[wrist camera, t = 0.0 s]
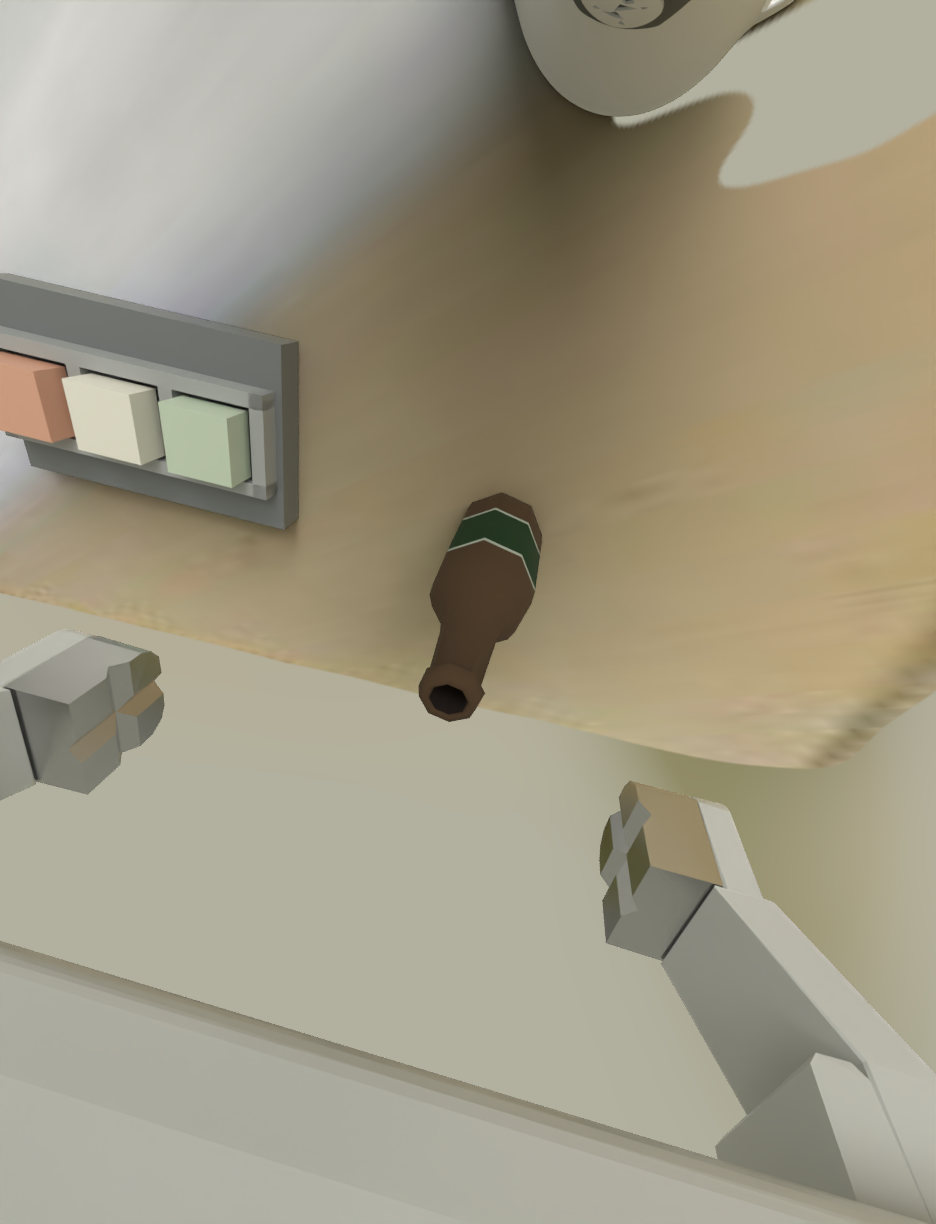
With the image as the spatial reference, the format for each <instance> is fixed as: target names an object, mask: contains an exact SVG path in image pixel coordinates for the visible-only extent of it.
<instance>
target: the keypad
mask: <svg viewBox="0 0 936 1224" xmlns="http://www.w3.org/2000/svg"><path fill="white" fill-rule="evenodd" d="M2 351H3V352H7V353H11V354H15V355H19V356H23V357H27V358H32V359H36V360H40V361H44V362H48V363H52V364H56V365H60V366H65V370H66V374H67V377H72V376H78V375H84V374H90V373H93V374H98V375H102V376H106V377H110V378H114V379H118V380H122V381H126V382H131V383H135V384H139V385H143V386H147V387H151V388H155V390H156V397H157V403H158V402H159V401H163V400H167V399H171V398H174V397H178V396H182V395H184V396H188V397H192V398H196V399H201V400H205V401H209V402H213V403H217V404H221V405H225V406H229V407H234V408H238V409H242V410H246V411H248V429H249V447H250V466H251V477H250V478H248V479H247V480H245V481H243V482H242V483H240V484H238V485H236V486H235V487H233V488H230V487H226V486H222V485H218V484H214V483H210V482H206V481H202V480H198V479H194V478H190V477H186V476H182V475H178V474H174V473H170V472H168V468H167V461H166V454H165V456H163V457H160V458H158V459H155V460H153V461H150V462H148V463H145V464H143V465H138V464H134V463H130V462H126V461H122V460H118V459H114V458H110V457H106V456H102V455H98V454H94V453H90V452H86V451H82V450H78V445H77V441H76V437H75V436H74V437H70V438H67V439H64V440H60V441H57V442H53V443H50V442H46V441H42V440H38V439H34V438H30V437H26V436H22V435H18V434H14V433H10V432H6V431H5V432H6V435H8V436H12V437H16V438H20V439H23V440H24V443H25V447H26V450H27V453H28V457H29V460H30V463H31V466H34V467H38V468H42V469H46V470H50V471H54V472H57V473H61V474H65V475H69V476H73V477H77V478H81V479H85V480H89V481H93V482H97V483H101V484H105V485H109V486H113V487H117V488H121V489H124V490H128V491H132V492H136V493H140V494H144V495H148V496H152V497H156V498H160V499H164V500H168V501H172V502H176V503H180V504H184V505H188V506H192V507H195V508H199V509H203V510H207V511H211V512H215V513H219V514H223V515H227V516H231V517H235V518H239V519H243V520H247V521H251V522H255V523H259V524H262V525H266V526H270V527H274V528H278V529H282V530H285V529H286V528H287V527H288V526H290V525H291V524H292V523H293V522H294V521H296V520H297V519H298V341H294V340H290V339H285V338H281V337H277V336H273V335H268V334H264V333H260V332H256V331H251V330H247V329H243V328H238V327H234V326H230V325H226V324H221V323H217V322H213V321H209V320H204V319H200V318H196V317H192V316H187V315H183V314H179V313H174V312H170V311H166V310H162V309H157V308H153V307H149V306H145V305H140V304H136V303H132V302H128V301H123V300H119V299H115V298H110V297H106V296H102V295H98V294H93V293H89V292H85V291H81V290H76V289H72V288H68V287H64V286H59V285H55V284H51V283H46V282H42V281H38V280H34V279H29V278H25V277H21V276H17V275H12V274H6V273H0V352H2ZM158 410H159V406H158ZM159 417H160V413H159ZM160 424H161V420H160ZM161 431H162V427H161ZM162 437H163V434H162ZM163 444H164V440H163ZM164 451H165V447H164Z"/></svg>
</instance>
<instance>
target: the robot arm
mask: <svg viewBox="0 0 936 1224" xmlns="http://www.w3.org/2000/svg"><path fill="white" fill-rule="evenodd" d="M793 1H794V0H514V2H515V6H516V10H517V14H518V17H519V21H520V25H521V28H522V32H523V35H524V38H525V40H526V43H527V45H528V48H529V50H530V52H531V54H532V57H533V58H534V60H535V62H536V64H537V66H538V67H539V69H540V70H541V72H542V73H543V75H544V76H545V78H546V79H547V80H548V81H549V83H550V84H551V85H552V86H553V87H554V88H555V89H556V90H557V91H558V92H559V93H560V94H561V95H562V96H563V97H565V98H566V99H567V100H569V101H570V102H572V103H573V104H575V105H577V106H578V107H580V108H582V109H585V110H587V111H590V112H592V113H596V114H600V115H606V116H631V115H637V114H642V113H645V112H649V111H651V110H654V109H657V108H659V107H662V106H664V105H666V104H668V103H669V102H671V101H673V100H675V99H677V98H678V97H680V96H681V95H683V94H684V93H686V92H687V91H688V90H690V89H691V88H692V87H694V86H695V85H696V84H697V83H698V82H699V81H701V80H702V79H703V78H704V77H705V76H706V75H707V74H708V73H709V72H710V71H711V70H712V69H713V68H714V67H715V66H716V65H717V64H718V63H719V61H721V59H722V58H723V57H724V56H725V55H726V54H727V52H728V51H729V50H730V49H731V48H732V47H733V45H734V44H735V43H736V42H737V41H738V40H739V39H740V38H741V37H742V36H743V35H744V34H745V33H746V32H747V31H748V30H749V29H750V28H751V27H752V26H753V25H755V24H757V23H759V22H761V21H762V20H764V19H766V18H768V17H769V16H771V15H773V14H775V13H776V12H778V11H780V10H781V9H783V8H784V7H786V6H787V5H789V4H790V3H792V2H793ZM160 674H161V667H160V661H159V656H157V655H155V654H154V653H152V652H151V651H147V650H144V649H141V648H138V647H134V646H131V645H127V644H124V643H121V642H117V641H114V640H110V639H107V638H104V637H100V636H94V635H91V634H88V633H85V632H81V631H78V630H75V629H60V630H57V631H55V632H54V633H52V634H50V635H48V636H46V637H44V638H43V639H41V640H39V641H37V642H35V643H34V644H31V645H30V646H28V647H26V648H24V649H22V650H20V651H18V652H17V653H15V654H13V655H11V656H9V657H7V658H5V659H4V660H2V661H0V800H2V799H4V798H7V797H9V796H11V795H13V794H15V793H18V792H20V791H22V790H24V789H26V788H29V787H31V786H33V785H35V784H36V782H40V783H44V784H48V785H52V786H56V787H60V788H64V789H68V790H72V791H76V792H80V793H84V794H89V793H90V792H91V791H92V790H93V789H94V788H95V787H96V786H98V785H99V784H100V783H101V782H102V781H103V780H104V779H105V778H106V777H107V776H108V775H109V774H111V773H112V772H113V771H114V770H115V769H116V768H117V767H118V766H119V765H120V762H121V754H122V752H125V751H127V750H130V749H133V748H136V747H138V746H141V745H142V744H143V743H144V742H145V741H146V740H147V739H148V738H149V737H150V736H151V735H152V734H153V732H154V731H155V729H156V727H157V726H158V724H159V722H160V720H161V718H162V713H163V709H164V694H163V692H162V691H161V690H160V688H159V687H158V686H157V684H156V683H155V681H154V680H155V679H156V678H157V677H158V676H159V675H160ZM35 781H36V782H35ZM619 801H620V809H621V811H619V812H617V813H615V814H613V815H611V816H610V817H609V819H608V822H607V824H606V826H605V829H604V832H603V836H602V841H601V845H600V875H601V876H602V878H603V879H604V880H605V882H606V883H607V885H608V886H609V889H608V891H607V893H606V895H605V897H604V899H603V901H602V902H603V913H604V925H605V936H606V943H608V944H611V945H614V946H617V947H620V948H624V949H627V950H630V951H633V952H636V953H639V954H642V955H645V956H649V957H652V958H655V959H658V960H661V961H662V963H661V964H662V966H663V968H664V970H665V971H666V973H667V975H668V977H669V978H670V980H671V982H672V984H673V985H674V987H675V989H676V991H677V993H678V994H679V996H680V998H681V1000H682V1001H683V1003H684V1005H685V1007H686V1008H687V1010H688V1012H689V1014H690V1015H691V1017H692V1019H693V1021H694V1022H695V1024H696V1026H697V1028H698V1030H699V1031H700V1033H701V1035H702V1036H703V1038H704V1040H705V1042H706V1043H707V1045H708V1047H709V1049H710V1050H711V1052H712V1054H713V1056H714V1058H715V1059H716V1061H717V1063H718V1065H719V1067H720V1068H721V1070H722V1072H723V1074H724V1075H725V1077H726V1079H727V1081H728V1082H729V1084H730V1086H731V1088H732V1089H733V1091H734V1093H735V1095H736V1097H737V1098H738V1100H739V1102H740V1104H741V1105H742V1107H743V1109H744V1110H745V1112H746V1114H747V1116H745V1118H743V1119H742V1120H741V1121H740V1122H739V1123H738V1124H737V1125H736V1126H735V1127H734V1128H732V1129H731V1130H730V1131H729V1132H728V1133H727V1134H726V1135H725V1136H724V1137H723V1138H722V1139H721V1140H720V1141H719V1143H718V1144H717V1145H716V1152H717V1157H718V1159H715V1158H711V1157H708V1156H705V1155H702V1154H699V1153H695V1152H692V1151H689V1150H685V1149H682V1148H679V1147H675V1146H672V1145H669V1144H665V1143H662V1142H659V1141H656V1140H652V1139H649V1138H646V1137H642V1136H639V1135H636V1134H633V1133H629V1132H626V1131H623V1130H620V1129H616V1128H613V1127H610V1126H606V1125H603V1124H600V1123H597V1122H593V1121H590V1120H587V1119H584V1118H580V1117H577V1116H574V1115H570V1114H567V1113H564V1112H561V1111H557V1110H554V1109H551V1108H547V1107H544V1106H541V1105H538V1104H534V1103H531V1102H528V1101H524V1100H521V1099H517V1098H514V1097H511V1096H508V1095H505V1094H502V1093H498V1092H495V1091H492V1090H488V1089H485V1088H482V1087H479V1086H475V1085H472V1084H469V1083H465V1082H462V1081H458V1080H455V1079H452V1078H449V1077H446V1076H442V1075H439V1074H436V1073H433V1072H429V1071H426V1070H423V1069H419V1068H416V1067H413V1066H410V1065H406V1064H403V1063H400V1062H396V1061H393V1060H390V1059H386V1058H383V1057H380V1056H377V1055H374V1054H370V1053H367V1052H364V1051H360V1050H357V1049H354V1048H351V1047H347V1046H344V1045H341V1044H337V1043H334V1042H331V1041H327V1040H324V1039H321V1038H318V1037H314V1036H311V1035H308V1034H305V1033H301V1032H298V1031H295V1030H292V1029H288V1028H285V1027H282V1026H278V1025H275V1024H272V1023H269V1022H265V1021H262V1020H258V1019H255V1018H252V1017H248V1016H246V1015H242V1014H239V1013H236V1012H232V1011H229V1010H226V1009H223V1008H219V1007H216V1006H213V1005H209V1004H206V1003H203V1002H200V1001H196V1000H193V999H189V998H186V997H183V996H180V995H177V994H173V993H170V992H166V991H163V990H160V989H157V988H153V987H150V986H147V985H144V984H140V983H137V982H134V981H131V980H127V979H124V978H120V977H117V976H114V975H111V974H107V973H104V972H101V971H98V970H94V969H91V968H88V967H85V966H81V965H78V964H75V963H71V962H68V961H65V960H62V959H58V958H55V957H52V956H48V955H45V954H42V953H38V952H35V951H32V950H29V949H25V948H22V947H19V946H15V945H12V944H9V943H5V942H2V941H0V1224H936V1075H935V1073H934V1072H933V1071H932V1070H931V1069H930V1068H929V1067H928V1066H927V1065H926V1064H925V1063H924V1062H923V1061H922V1060H921V1059H920V1057H919V1056H917V1054H916V1053H915V1052H914V1051H913V1050H912V1049H911V1048H910V1047H909V1046H908V1045H907V1044H906V1043H905V1041H904V1040H903V1039H902V1038H900V1036H899V1035H898V1034H897V1033H896V1032H895V1031H894V1030H893V1029H892V1028H891V1027H890V1026H889V1025H888V1023H887V1022H886V1021H885V1020H884V1019H883V1018H882V1017H881V1016H880V1015H879V1014H878V1013H877V1012H876V1011H875V1010H874V1008H872V1006H871V1005H870V1004H869V1003H868V1002H867V1001H866V1000H865V999H864V998H863V997H862V996H861V995H860V994H859V993H858V992H857V990H855V988H854V987H853V986H852V985H851V984H850V983H849V982H848V981H847V980H846V979H845V978H844V977H843V975H841V973H840V972H839V971H838V970H837V969H836V968H835V967H834V966H833V965H832V964H831V963H830V962H829V961H828V960H827V958H826V957H825V956H824V955H823V954H822V953H821V952H820V951H819V950H818V949H817V948H816V947H815V946H814V945H813V944H812V943H811V942H810V941H809V939H808V938H807V937H806V936H805V935H804V934H803V933H802V932H801V931H800V930H799V929H798V928H797V927H796V925H795V924H794V923H793V922H792V921H791V920H790V919H789V918H788V917H787V916H786V915H785V914H784V913H783V912H782V911H781V910H780V908H779V907H778V906H777V905H776V904H775V903H774V902H772V901H768V900H765V899H763V897H762V895H761V892H760V890H759V887H758V884H757V882H756V879H755V877H754V874H753V871H752V869H751V866H750V864H749V861H748V858H747V856H746V853H745V850H744V848H743V845H742V842H741V840H740V837H739V835H738V832H737V830H736V827H735V824H734V822H733V819H732V816H731V814H730V811H729V810H728V809H727V807H726V806H725V805H724V804H720V803H716V802H712V801H708V800H704V799H700V798H696V797H689V796H686V795H682V794H678V793H675V792H671V791H667V790H663V789H659V788H655V787H652V786H648V785H644V784H640V783H637V782H633V781H629V782H628V783H627V784H626V785H625V786H624V788H623V790H622V793H621V794H620V796H619Z"/></svg>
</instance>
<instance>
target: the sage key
mask: <svg viewBox="0 0 936 1224" xmlns="http://www.w3.org/2000/svg"><path fill="white" fill-rule="evenodd" d="M158 406H159V413H160V420H161V427H162V434H163V440H164V447H165V454H166V461H167V468H168V472H170V473H174V474H178V475H182V476H186V477H190V478H194V479H198V480H202V481H206V482H210V483H214V484H218V485H222V486H226V487H230V488H233V487H235V486H236V485H238V484H240V483H242V482H243V481H245V480H247V479H248V478H250V477H251V466H250V447H249V429H248V411H246V410H242V409H238V408H234V407H229V406H225V405H221V404H217V403H213V402H209V401H205V400H201V399H196V398H192V397H188V396H184V395H182V396H178V397H174V398H171V399H167V400H163V401H159V402H158Z"/></svg>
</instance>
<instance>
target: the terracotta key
mask: <svg viewBox="0 0 936 1224" xmlns="http://www.w3.org/2000/svg"><path fill="white" fill-rule="evenodd" d="M61 378H67V374H66V370H65V366H60V365H56V364H52V363H48V362H44V361H40V360H36V359H32V358H27V357H23V356H19V355H15V354H11V353H7V352H3V351H2V352H0V430H2V431H6V432H10V433H14V434H18V435H22V436H26V437H30V438H34V439H38V440H42V441H46V442H50V443H53V442H57V441H60V440H64V439H67V438H70V437H74V436H75V433H74V429H73V425H72V420H71V416H70V412H69V408H68V404H67V400H66V395H65V391H64V387H63V383H62V379H61Z"/></svg>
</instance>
